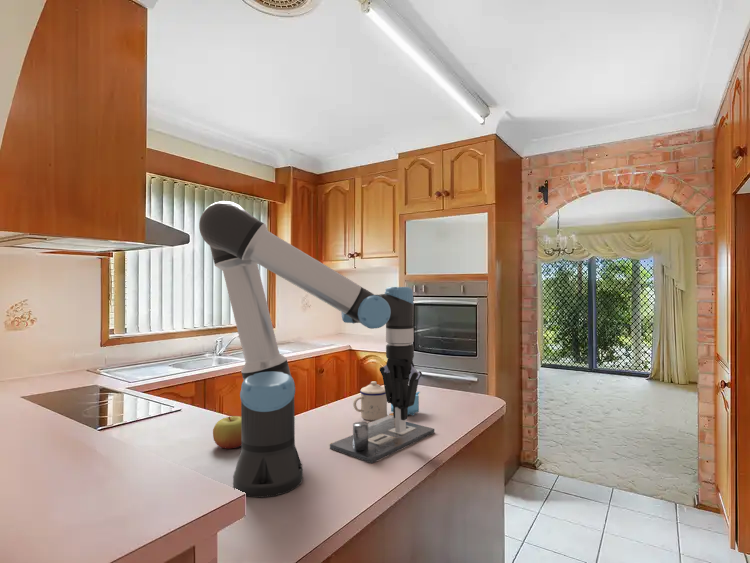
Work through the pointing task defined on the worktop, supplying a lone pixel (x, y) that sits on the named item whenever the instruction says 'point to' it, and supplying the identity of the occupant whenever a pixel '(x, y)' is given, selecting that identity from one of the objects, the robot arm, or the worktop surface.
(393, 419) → the grey bar
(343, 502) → the worktop surface
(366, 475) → the worktop surface
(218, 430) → the apple
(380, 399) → the teacup with lid
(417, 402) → the teapot
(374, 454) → the plate
